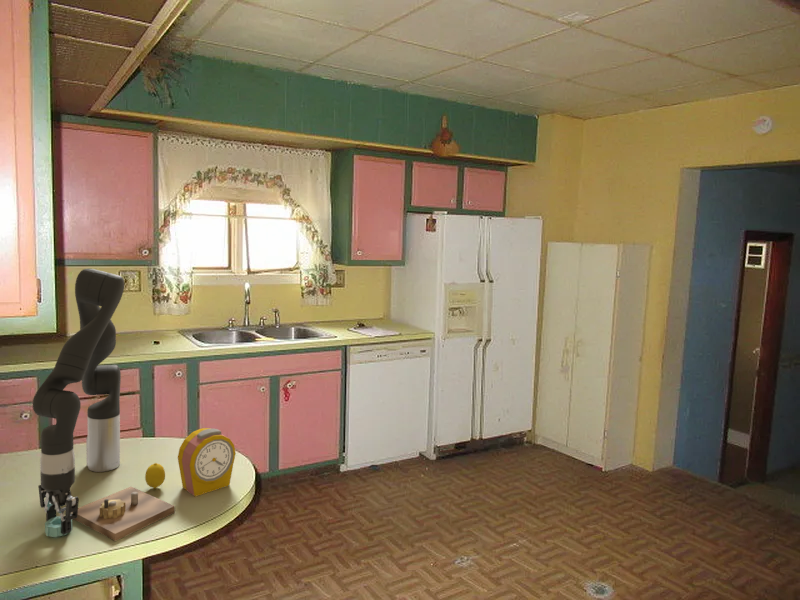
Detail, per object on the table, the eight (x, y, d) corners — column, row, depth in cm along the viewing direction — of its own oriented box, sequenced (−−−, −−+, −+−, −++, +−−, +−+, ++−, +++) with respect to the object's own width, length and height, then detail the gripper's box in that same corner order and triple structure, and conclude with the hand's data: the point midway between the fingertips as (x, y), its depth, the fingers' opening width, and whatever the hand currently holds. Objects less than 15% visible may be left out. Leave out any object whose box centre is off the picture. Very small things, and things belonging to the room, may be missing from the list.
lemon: (157, 493, 175) (158, 468, 174) (141, 491, 176) (141, 465, 175) (168, 485, 180) (169, 460, 179) (152, 483, 181) (152, 458, 180)
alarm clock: (190, 499, 173) (191, 439, 170) (177, 489, 178) (178, 431, 176) (235, 484, 184) (237, 428, 181) (221, 475, 189) (223, 420, 187)
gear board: (71, 517, 159) (70, 495, 158) (131, 492, 174) (131, 472, 173) (115, 541, 149) (115, 517, 148) (174, 512, 165) (174, 490, 164)
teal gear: (40, 531, 150) (40, 522, 150) (63, 521, 155) (63, 513, 155) (53, 539, 147) (53, 530, 147) (77, 529, 152) (77, 520, 152)
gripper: (26, 463, 149) (28, 525, 151) (59, 480, 142) (60, 544, 144) (56, 454, 155) (57, 513, 158) (89, 469, 148) (89, 531, 151)
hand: (58, 528), depth 151 cm, fingers closed on teal gear, 6 cm apart
